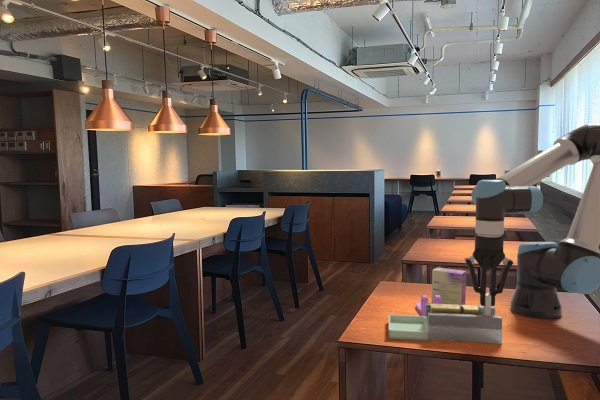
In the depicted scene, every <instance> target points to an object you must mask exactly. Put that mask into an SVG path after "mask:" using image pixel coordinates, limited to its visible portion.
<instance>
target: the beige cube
mask: <svg viewBox="0 0 600 400" xmlns="http://www.w3.org/2000/svg"><path fill="white" fill-rule="evenodd" d="M477 306H478V305H477ZM477 306H474V305H473V304H472V305H471V304H464V305H462V314H468V315H479V309H478V307H477Z"/></svg>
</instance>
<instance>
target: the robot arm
mask: <svg viewBox="0 0 600 400" xmlns="http://www.w3.org/2000/svg"><path fill="white" fill-rule="evenodd" d="M585 160H590V162H591V163H592V165H593V166H592V168H591V171H590V174H589V177H588V179H587V182H586V185H585V187H584V190H583V193H582V196H581V198H580V201H579V204H578V206H577V209H576V212H575V214H574V217H573V220H572V223H571V225H570V228H569V231H568V234H567V236H566V238H564V239H562V240H560V241H559V242H558V243H557V242H556V241H555V242H554V241H530V242H529V241H528V242H522V243H520V244H519V245H518V246H517V247H518V248H517V253H516V255H517V256H516V257H517V258H516V260H517V263H516V264H517V265H516V269H517V270H516V271H517V272H516V273H517V274H516V287H515V291H514V293H513V295H512V298H511V300H510V311H512V312H513V313H514V314H517V315H521V316H523V317H528V318H535V319H556V318H560V317H561V316H562V311H563V310H562V304H561V301H560V298H559V295H558V292H557V288H558V289H560V290H564V291H566V292H567V293H568V292H569V293H571V294H573V293H574V294H577V295H587V294H588V295H589V294H590V293H592V292H594V291H596V290H597V289H598V288H599V287H600V249H599V247H600V121H597V122H589V123H586V124H584V125H581V126H579V127H577V128H575V129H573V130H571V131H570V132H568V133H566V134H564V135H562V136H561V137H559V138H558V139H556V140H555V141H554V142H553V145H551V146H549V147H548V148H546V149H545V150H543V151H542V152H540V153H538V154H536V155H535V156H533V157H531V158H529V159H528V160H526V161H524V162H523V163H521V164H519V165H517V166H516V167H513V169H511V170H509V171H507V172H506V173H504V174H502V175H500V176H499V177H497V178H495V179H481V180H478V182H477V183H476V185H475V186H474V187H473V188H472V189H471V190H472V191H471V194H470V196H471V197H470V198H471V200H472V202H473V204H474V205H475V225H474V226H475V227H474V228H475V229H474V232H475V234H476V235H474V251H473V252H472V255H471V256H469V257H465V258H464V262H465V263H466V265H467V267H468V271H469V276H470V280H471V284H472V288H473V291H474V292H475V293H477V294H479V304H480V306H484V309H483V315H489V316H491V306H494V307H495V306H496V297H497V295H499V294H502V293H503V291H504V288H505V284H506V281H507V277H508V274H509V271H510V268H511V267H512V266H513V265H514V261H513V260H511V258H508V257H506V254H505V252H504V244H505V243H504V240H505V239H504V237H503V235H504V233H505V216H506V215H505V214H517V213H519V214H521V213H526V214H529V213H532V212H533V213H534V212H535V213H536V212H537V211H539V210H540V209H541V208H542V206H543V204H544V195H543V193H542V191H541V190H540V188H539V187H537V186H534V185H536V184H537V183H539V182H541V181H542V180H544V179H546V178H547V177H549V176H551V175H552V174H554V173H555V172H558V171H559V170H560V169H563V168H565V167H566V166H567V165H568V166H572V165H574V166H575V164H577V163H579V162H582V161H585ZM475 261H476V263H477V264H478V266H479V269H480V270H479V271H480V276H479V279H480V280H479V283H478V280H477V279H478V277H477V274H476V270H475V269H476V268H475V266H474V265H475ZM501 263H502V267H501V271H500V273H499V274H500V275H499V276H498V281H497V271H498V270H497V268H498V267H499V265H500V264H501ZM488 268H489V292H487V273H488V272H487V271H488Z"/></svg>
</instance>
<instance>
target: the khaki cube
mask: <svg viewBox="0 0 600 400" xmlns="http://www.w3.org/2000/svg"><path fill="white" fill-rule="evenodd" d="M430 313H446V308H445V305H444V304H434V303H431V304H430Z"/></svg>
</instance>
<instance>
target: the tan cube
mask: <svg viewBox="0 0 600 400" xmlns="http://www.w3.org/2000/svg"><path fill="white" fill-rule="evenodd" d="M444 305H445V308H446V313H447V314H460V307H459V305H450V304H444Z"/></svg>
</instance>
